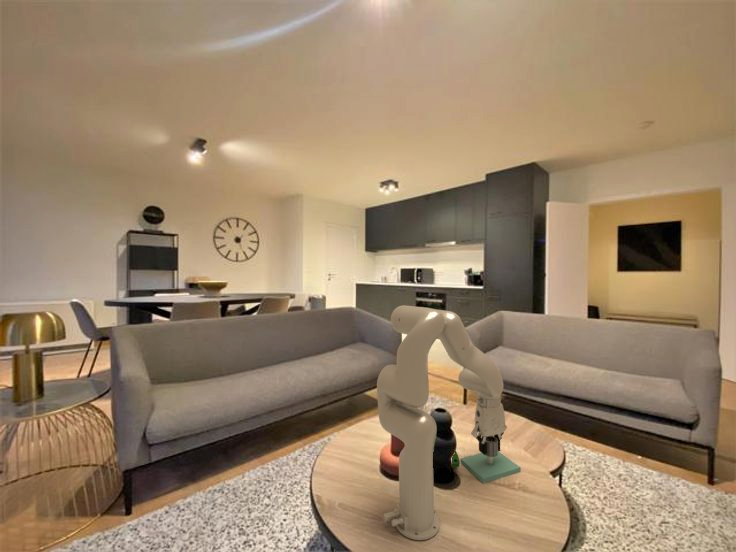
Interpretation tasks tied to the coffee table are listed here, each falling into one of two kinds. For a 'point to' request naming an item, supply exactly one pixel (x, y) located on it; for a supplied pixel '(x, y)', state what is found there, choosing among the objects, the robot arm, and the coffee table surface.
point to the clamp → (455, 460)
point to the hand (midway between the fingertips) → (489, 450)
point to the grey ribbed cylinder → (491, 446)
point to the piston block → (490, 466)
